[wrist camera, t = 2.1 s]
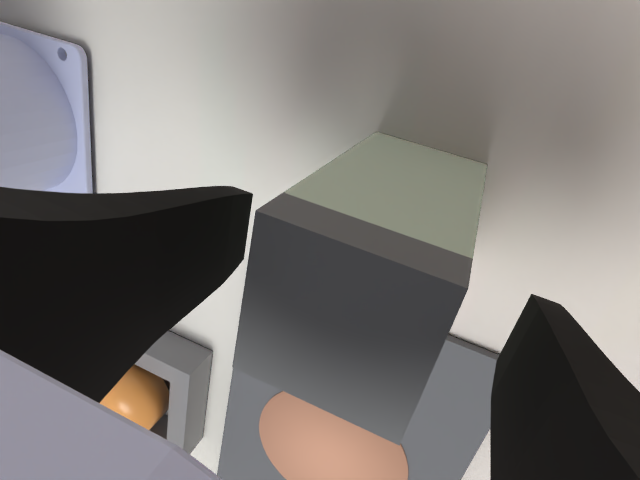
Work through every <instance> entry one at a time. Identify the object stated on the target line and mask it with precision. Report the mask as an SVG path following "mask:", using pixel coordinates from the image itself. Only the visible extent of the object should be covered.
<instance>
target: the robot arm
mask: <svg viewBox="0 0 640 480" xmlns="http://www.w3.org/2000/svg"><path fill="white" fill-rule="evenodd" d="M65 51H66V54H67V57H66V54H65ZM252 197H253V194H252V193H249V192H247V191H244V190H241V189H238V188H235V187H231V186H211V187H197V188H186V189H175V190H164V191H149V192H133V193H106V194H97V193H93V189H92V165H91V141H90V117H89V92H88V68H87V56H86V53H85V51H84V49H83V48H82V47H81V46H79V45H77V44H74V43H71V42H67V41H64V40H61V39H57V38H54V37H51V36H47V35H44V34H41V33H37V32H34V31H31V30H27V29H24V28H20V27H17V26H14V25H10V24H7V23H4V22H0V480H223V479H221V478H220V477H219V476H217V475H216V474H215V473H213V472H212V471H211V470H209V469H208V468H207V467H206V466H204V465H203V464H202V463H200V462H199V461H198V460H196V459H195V458H194V457H192V456H191V455H190V454H188V453H187V452H186V451H185V450H183V449H182V448H181V447H179V446H177V445H175V444H174V443H172V442H170V441H168V440H166V439H164V438H162V437H161V436H159V435H157V434H155V433H153V432H151V431H150V430H148V429H146V428H144V427H142V426H140V425H138V424H137V423H135V422H133V421H131V420H129V419H127V418H125V417H124V416H122V415H120V414H118V413H116V412H114V411H113V410H111V409H109V408H107V407H105V406H103V405H101V404H100V402H101V401H102V400H103V399H104V397H105V396H106V395H107V394H108V393H109V392H110V391H111V389H112V388H113V387H114V386H115V385H116V384H117V383H118V382H119V380H120V379H121V378H122V377H123V376H124V375H125V374H126V372H127V371H128V370H129V369H130V368H131V367H132V366H133V365H134V364H135V363H136V362H137V361H138V360H139V359H140V358H141V357H142V355H143V354H144V353H145V352H146V351H147V350H148V349H149V348H150V347H151V346H152V345H153V344H154V343H155V342H156V341H157V340H158V339H159V338H160V337H162V336H163V335H164V334H165V333H166V332H167V331H168V330H169V329H171V328H172V327H173V326H174V325H175V324H177V323H178V322H179V321H180V320H181V319H182V318H184V317H185V316H186V315H187V314H188V313H190V312H191V311H192V310H193V309H194V308H195V307H197V306H198V305H199V304H200V303H201V302H203V301H204V300H205V299H206V298H207V297H208V296H209V295H211V294H212V293H213V292H214V291H215V290H216V289H218V288H219V287H220V286H221V285H222V284H223V283H224V282H225V281H226V280H227V278H228V277H229V276H230V275H231V274H232V273H233V272H234V270H235V269H236V268H237V267H238V266H239V264H240V263H241V262H242V261H243V259H244V253H245V246H246V239H247V232H248V225H249V218H250V211H251V204H252ZM491 480H640V392H639V391H638V390H637V389H636V388H635V387H634V386H633V385H632V384H631V383H630V382H629V381H628V380H627V379H626V378H625V377H624V375H623V374H622V373H621V372H620V371H619V370H618V369H617V368H616V367H615V366H614V364H613V363H612V362H611V361H610V360H609V359H608V358H607V357H606V355H605V354H604V353H603V352H602V351H601V350H600V348H599V347H598V346H597V345H596V344H595V343H594V341H593V340H592V339H591V338H590V337H589V336H588V334H587V333H586V332H585V331H584V330H583V328H582V327H581V326H580V325H579V324H578V323H577V321H576V320H575V319H574V318H573V317H572V316H571V315H570V313H569V312H568V311H567V310H566V309H565V308H564V307H563V306H561V305H560V304H558V303H555V302H553V301H550V300H547V299H544V298H542V297H539V296H536V295H533V294H531V296H530V298H529V300H528V302H527V304H526V306H525V307H524V309H523V311H522V313H521V315H520V317H519V319H518V321H517V323H516V325H515V327H514V328H513V330H512V332H511V334H510V336H509V338H508V340H507V342H506V344H505V346H504V348H503V350H502V351H501V353H500V355H499V357H498V359H497V361H496V367H495V373H494V379H493V385H492V392H491Z"/></svg>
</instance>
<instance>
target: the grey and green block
mask: <svg viewBox="0 0 640 480" xmlns="http://www.w3.org/2000/svg"><path fill="white" fill-rule="evenodd" d="M486 170H487V164H484V163H480V162H477V161H474V160H470V159H467V158H464V157H460V156H457V155H453V154H450V153H447V152H443V151H440V150H437V149H433V148H430V147H427V146H423V145H420V144H416V143H413V142H410V141H406V140H403V139H400V138H396V137H393V136H389V135H386V134H383V133H379V132H375V133H374V134H372V135H371V136H369V137H368V138H366V139H364V140H363V141H361V142H360V143H358V144H357V145H355V146H354V147H352V148H351V149H349V150H348V151H346V152H345V153H343V154H342V155H340V156H338V157H337V158H335V159H334V160H332V161H331V162H329V163H328V164H326V165H325V166H323V167H322V168H320V169H319V170H317V171H315V172H314V173H312V174H311V175H309V176H308V177H306V178H305V179H303V180H302V181H300V182H299V183H297V184H296V185H294V186H293V187H291V188H289V189H288V190H286V191H285V192H283V193H282V194H280V195H279V196H277V197H276V198H274V199H273V200H271V201H270V202H268V203H267V204H265V205H263V206H262V207H260V208H259V209H257V210H256V212H255V219H254V225H253V232H252V239H251V246H250V252H249V259H248V266H247V272H246V279H245V286H244V293H243V299H242V306H241V313H240V319H239V326H238V333H237V340H236V346H235V353H234V360H233V368H235V369H237V370H239V371H241V372H243V373H246V374H248V375H250V376H252V377H254V378H256V379H258V380H261V381H263V382H265V383H267V384H269V385H271V386H273V387H275V388H278V389H280V390H282V391H284V392H286V393H288V394H290V395H292V396H295V397H297V398H299V399H301V400H303V401H305V402H307V403H310V404H312V405H314V406H316V407H318V408H320V409H322V410H324V411H327V412H329V413H331V414H333V415H335V416H337V417H339V418H342V419H344V420H346V421H348V422H350V423H352V424H354V425H356V426H359V427H361V428H363V429H365V430H367V431H369V432H371V433H373V434H376V435H378V436H380V437H382V438H384V439H386V440H388V441H391V442H393V443H395V444H397V445H399V446H400V443H401V441H402V439H403V436H404V434H405V432H406V430H407V427H408V425H409V423H410V420H411V418H412V416H413V413H414V411H415V409H416V407H417V404H418V402H419V400H420V397H421V395H422V393H423V391H424V388H425V386H426V384H427V381H428V379H429V377H430V375H431V372H432V370H433V368H434V365H435V363H436V361H437V359H438V356H439V354H440V352H441V349H442V347H443V345H444V343H445V340H446V338H447V336H448V333H449V331H450V329H451V327H452V324H453V322H454V320H455V317H456V315H457V313H458V311H459V308H460V306H461V304H462V301H463V299H464V297H465V295H466V292H467V290H468V286H469V280H470V273H471V267H472V260H473V254H474V248H475V241H476V235H477V228H478V222H479V215H480V209H481V203H482V196H483V190H484V183H485V177H486Z"/></svg>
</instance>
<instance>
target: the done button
mask: <svg viewBox="0 0 640 480" xmlns="http://www.w3.org/2000/svg"><path fill="white" fill-rule="evenodd" d="M100 404H101V405H103V406H105V407H107V408H109V409H111V410H113V411H114V412H116V413H118V414H120V415H122V416H124V417H125V418H127V419H129V420H131V421H133V422H135V423H137V424H138V425H140V426H142V427H144V428H146V429H148V430H150V429H151V428H152V427H153V426H154V424H155V423H156V422H157V421H158V420H159V419H160V418H161V417H162V416H163V415H164V414H165V413H166V412H167V410H168V409H169V390H168V388H167V386H166V384H165V382H164V380H163V379H162V378H161V377H159V376H157V375H155V374H153V373H151V372H149V371H147V370H145V369H143V368H141V367H139V366H137V365H135V364H134V365H133V366H132V367H131V368H130V369H129V370H128V371H127V372H126V374H125V375H124V376H123V377H122V378H121V379H120V380H119V382H118V383H117V384H116V385H115V386H114V387H113V388H112V389H111V391H110V392H109V393H108V394H107V395H106V396H105V397H104V399H103V400H102V401H101V402H100Z"/></svg>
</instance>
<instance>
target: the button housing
mask: <svg viewBox="0 0 640 480" xmlns="http://www.w3.org/2000/svg"><path fill="white" fill-rule="evenodd" d="M212 354H213V351H211V350H209V349H207V348H205V347H202V346H200V345H198V344H196V343H194V342H192V341H190V340H187V339H185V338H183V337H181V336H179V335H177V334H174V333H172V332H170V331H167V332H166V333H165V334H164V335H163V336H162V337H160V338H159V339H158V340H157V341H156V342H155V343H154V344H153V345H152V346H151V347H150V348H149V349H148V350H147V351H146V352H145V353H144V354H143V355H142V357H141V358H140V359H139V360H138V361H137V362H136V363H135V365H137V366H139V367H141V368H143V369H145V370H147V371H149V372H151V373H153V374H155V375H157V376H159V377H161V378H162V379H163V380H164V382H165V384H166V386H167V388H168V390H169V409H168V410H167V412H166V413H165V414H164V415H163V416H162V417H161V418H160V419H159V420H158V421H157V422H156V423H155V424H154V426H153V427H152V428H151V429H150V431H151V432H153V433H155V434H157V435H159V436H161V437H162V438H164V439H166V440H168V441H170V442H172V443H174V444H175V445H177V446H179V447H181V448H182V449H183V450H185V451H186V452H187V453H188V454H190V453H191V452H192V451H193V450H194V448H195V447H196V446H197V444H198V443H199V442H200V441H201V439H202V438H203V430H204V422H205V413H206V405H207V396H208V388H209V379H210V371H211V362H212Z"/></svg>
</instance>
